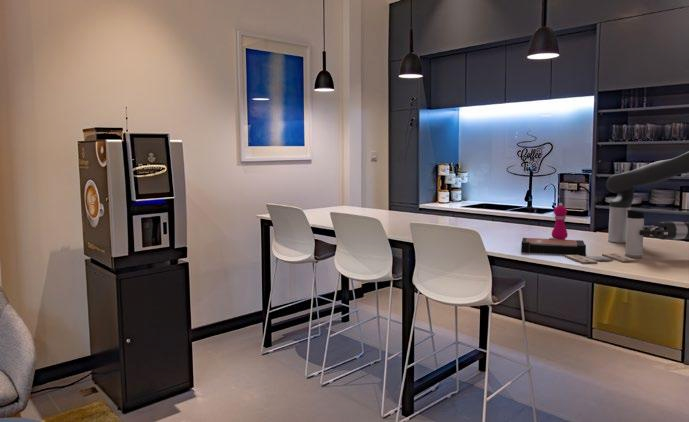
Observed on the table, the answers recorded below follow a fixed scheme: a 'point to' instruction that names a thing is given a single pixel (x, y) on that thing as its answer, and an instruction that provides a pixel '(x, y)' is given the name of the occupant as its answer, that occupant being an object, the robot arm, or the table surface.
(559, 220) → the pepper mill
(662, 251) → the table surface
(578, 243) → the book
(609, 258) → the brown flat boards
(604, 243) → the table surface
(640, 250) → the travel mug
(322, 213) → the table surface
